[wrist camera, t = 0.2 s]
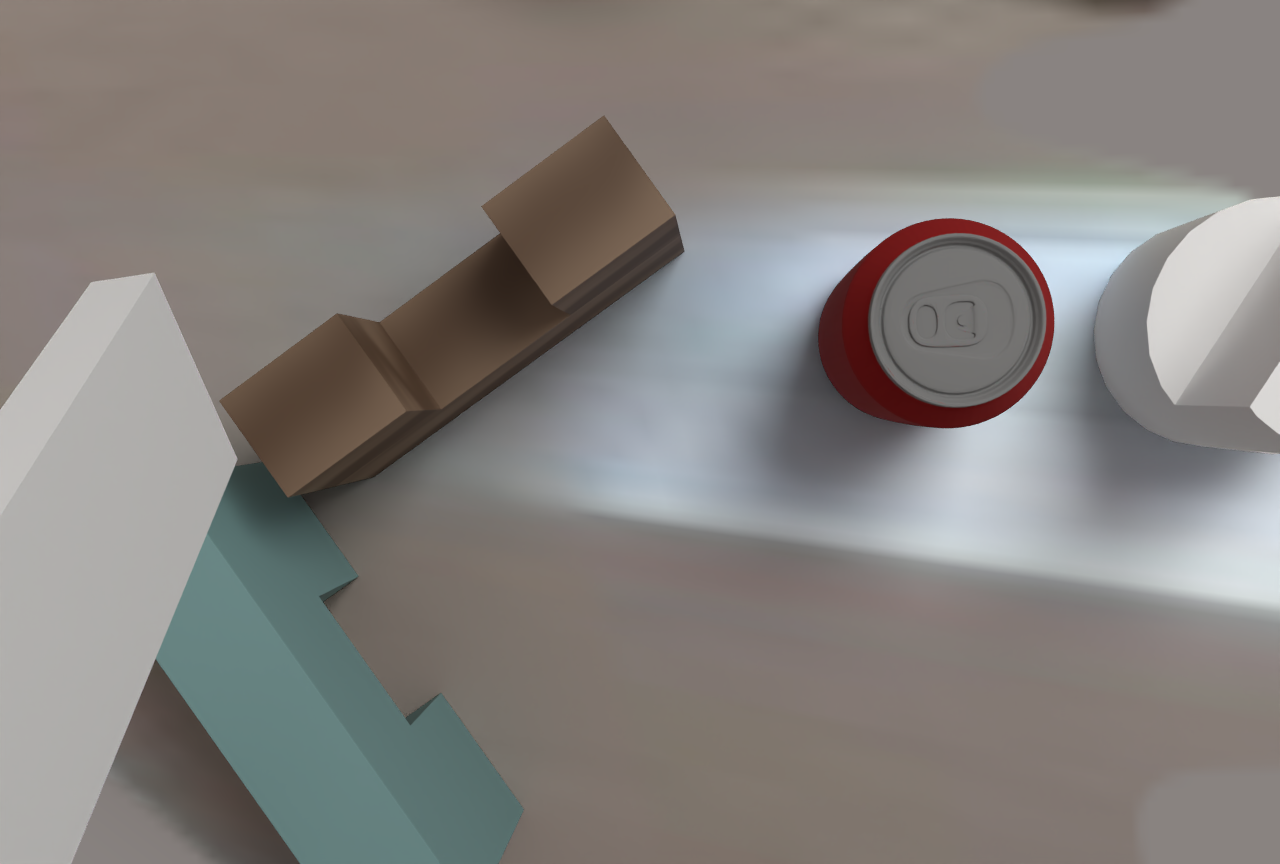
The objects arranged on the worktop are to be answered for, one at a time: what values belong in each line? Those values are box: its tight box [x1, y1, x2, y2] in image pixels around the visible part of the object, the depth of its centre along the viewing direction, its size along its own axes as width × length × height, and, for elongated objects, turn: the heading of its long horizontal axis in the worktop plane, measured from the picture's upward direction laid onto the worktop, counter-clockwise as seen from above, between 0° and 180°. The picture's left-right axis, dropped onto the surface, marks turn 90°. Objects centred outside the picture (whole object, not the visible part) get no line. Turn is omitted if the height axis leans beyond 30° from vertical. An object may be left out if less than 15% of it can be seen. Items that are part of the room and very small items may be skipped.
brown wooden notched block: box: [220, 116, 684, 498], centre depth 45 cm, size 4×16×10 cm, turn 126°
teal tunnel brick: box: [156, 462, 524, 864], centre depth 45 cm, size 18×4×10 cm, turn 36°
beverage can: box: [818, 218, 1054, 428], centre depth 43 cm, size 7×7×12 cm
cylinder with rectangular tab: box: [1094, 197, 1280, 454], centre depth 42 cm, size 9×9×12 cm
